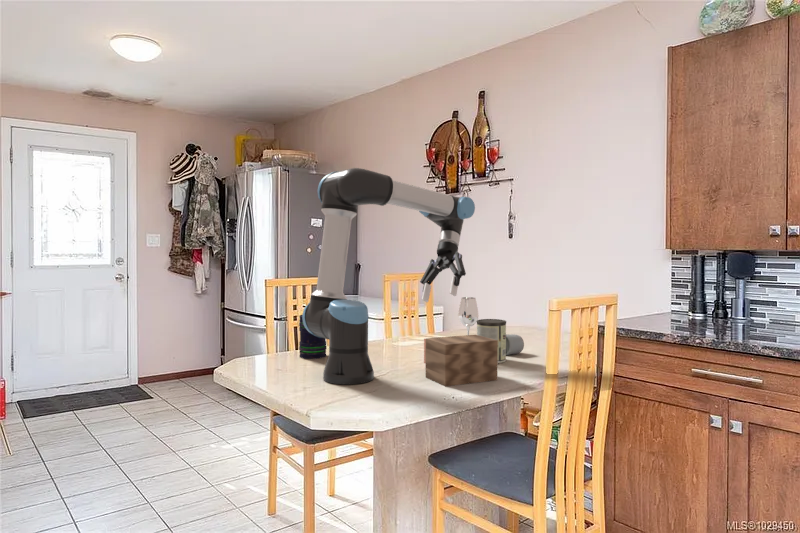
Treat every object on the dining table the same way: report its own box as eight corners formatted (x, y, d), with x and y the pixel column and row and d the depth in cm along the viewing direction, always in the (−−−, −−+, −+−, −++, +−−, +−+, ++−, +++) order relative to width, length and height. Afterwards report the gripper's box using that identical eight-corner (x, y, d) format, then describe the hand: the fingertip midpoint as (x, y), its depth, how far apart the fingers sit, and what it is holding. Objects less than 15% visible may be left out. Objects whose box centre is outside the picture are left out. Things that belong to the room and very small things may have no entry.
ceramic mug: (525, 354, 206) (525, 333, 206) (509, 356, 202) (509, 335, 202) (505, 350, 215) (505, 330, 215) (489, 352, 211) (489, 332, 210)
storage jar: (318, 359, 195) (318, 317, 195) (293, 357, 199) (293, 316, 198) (331, 354, 204) (331, 314, 204) (307, 353, 208) (307, 313, 207)
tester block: (445, 386, 158) (445, 344, 158) (425, 377, 169) (425, 338, 169) (497, 380, 166) (497, 340, 166) (475, 371, 177) (475, 334, 177)
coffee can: (475, 357, 201) (476, 318, 200) (504, 358, 200) (505, 319, 199) (476, 363, 191) (477, 322, 190) (507, 363, 190) (507, 322, 189)
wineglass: (479, 350, 214) (479, 298, 213) (459, 350, 214) (459, 298, 214) (476, 346, 222) (477, 297, 221) (457, 346, 222) (457, 296, 221)
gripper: (480, 242, 197) (472, 296, 188) (431, 257, 215) (421, 307, 206) (467, 232, 193) (457, 287, 184) (417, 248, 211) (406, 298, 202)
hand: (438, 297), depth 195 cm, fingers open, 13 cm apart
